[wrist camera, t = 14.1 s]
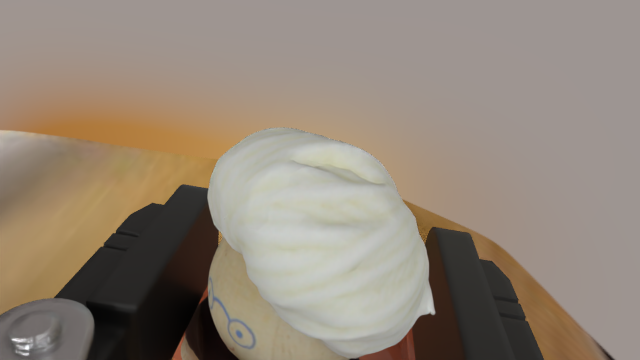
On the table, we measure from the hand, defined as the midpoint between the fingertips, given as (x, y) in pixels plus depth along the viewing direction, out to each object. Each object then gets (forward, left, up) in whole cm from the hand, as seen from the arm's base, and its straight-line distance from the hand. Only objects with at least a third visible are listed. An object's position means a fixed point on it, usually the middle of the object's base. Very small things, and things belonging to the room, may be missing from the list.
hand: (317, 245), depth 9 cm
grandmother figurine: (0, -3, -9) cm, 10 cm away
